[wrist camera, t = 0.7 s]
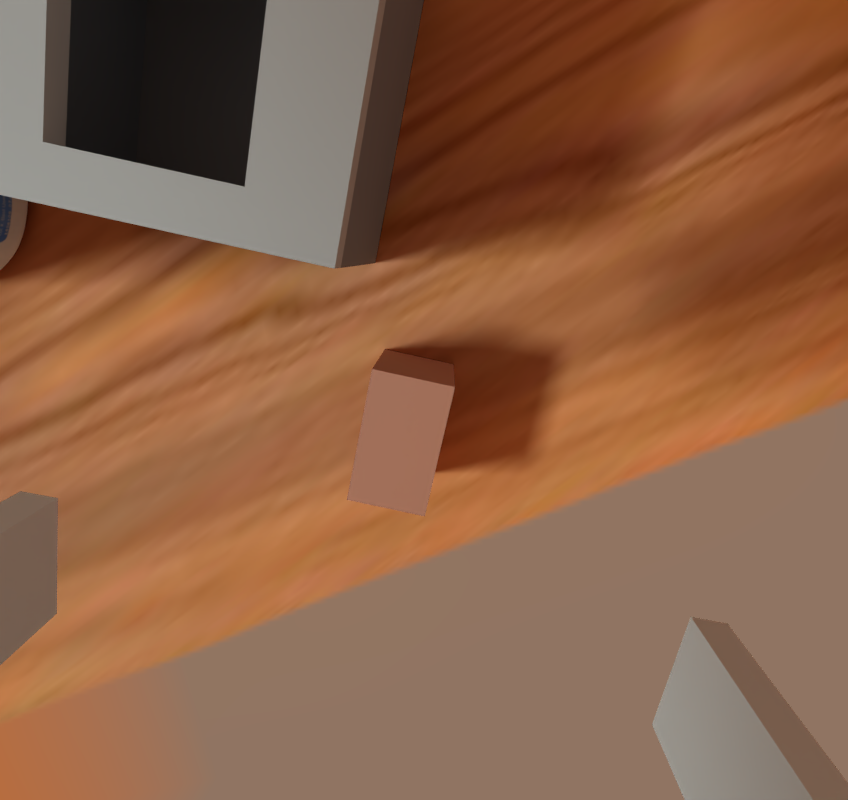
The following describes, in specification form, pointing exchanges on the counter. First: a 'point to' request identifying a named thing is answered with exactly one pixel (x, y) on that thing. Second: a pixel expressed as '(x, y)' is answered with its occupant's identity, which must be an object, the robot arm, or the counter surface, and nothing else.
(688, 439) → the counter surface
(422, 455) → the block
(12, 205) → the supplement tub
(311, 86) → the box
